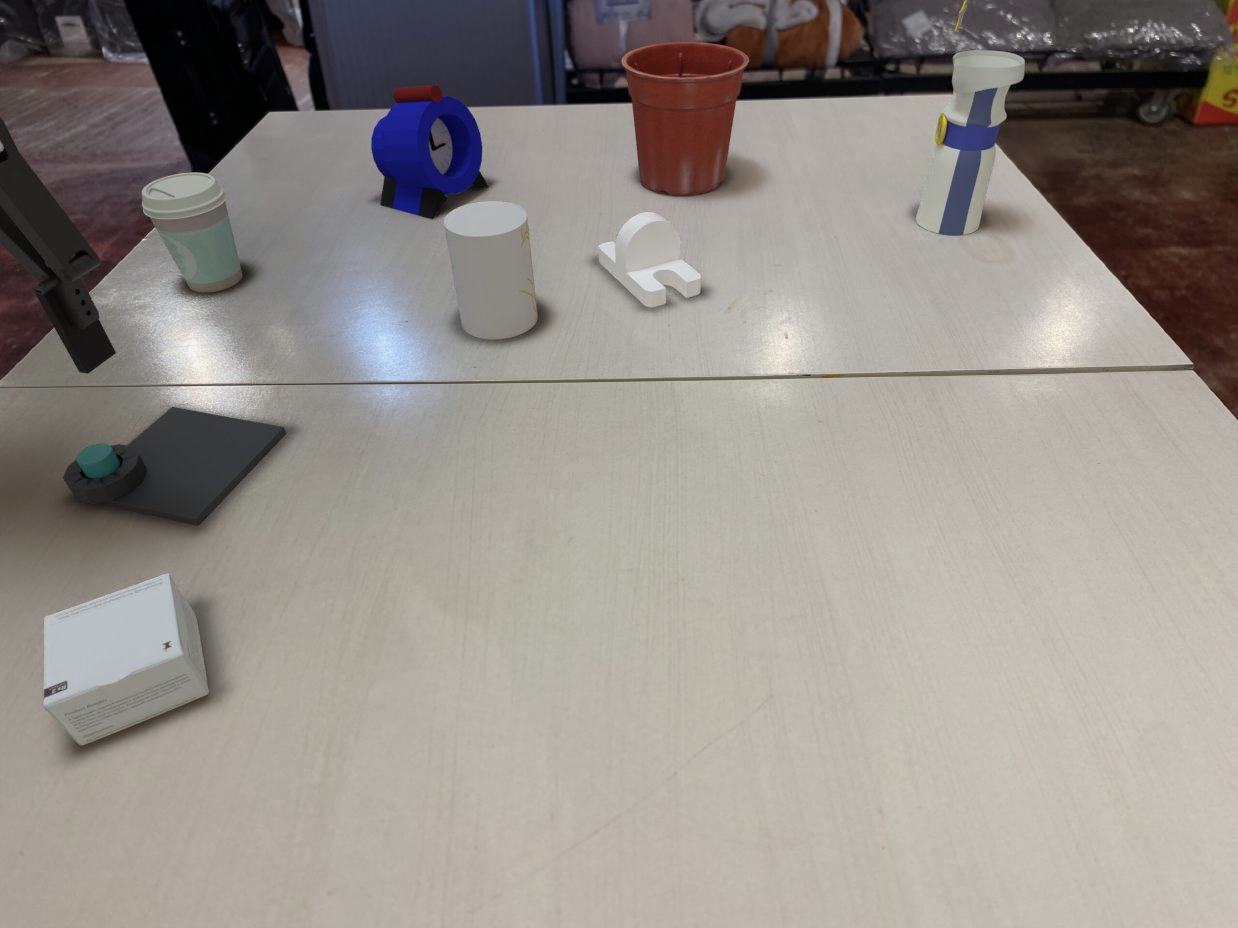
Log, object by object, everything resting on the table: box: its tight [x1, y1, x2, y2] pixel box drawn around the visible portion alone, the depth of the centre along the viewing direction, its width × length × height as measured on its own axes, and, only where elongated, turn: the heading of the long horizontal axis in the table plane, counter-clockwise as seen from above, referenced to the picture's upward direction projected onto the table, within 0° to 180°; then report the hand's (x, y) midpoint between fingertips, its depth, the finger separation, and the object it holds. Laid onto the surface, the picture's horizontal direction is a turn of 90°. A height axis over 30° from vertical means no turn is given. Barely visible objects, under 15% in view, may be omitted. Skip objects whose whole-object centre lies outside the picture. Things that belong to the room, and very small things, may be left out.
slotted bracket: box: [597, 211, 702, 308], centre depth 90 cm, size 13×7×8 cm, turn 27°
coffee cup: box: [141, 172, 243, 293], centre depth 91 cm, size 8×9×12 cm
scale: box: [62, 406, 287, 526], centre depth 68 cm, size 13×13×3 cm
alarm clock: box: [370, 84, 490, 220], centre depth 108 cm, size 12×12×15 cm
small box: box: [42, 572, 210, 746], centre depth 52 cm, size 8×8×5 cm
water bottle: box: [915, 0, 1026, 236], centre depth 94 cm, size 8×9×25 cm
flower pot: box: [621, 41, 750, 197], centre depth 110 cm, size 16×16×16 cm
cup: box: [443, 200, 539, 340], centre depth 83 cm, size 8×8×12 cm
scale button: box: [75, 442, 120, 479], centre depth 65 cm, size 3×3×2 cm
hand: (34, 351), depth 59 cm, fingers open, 11 cm apart
